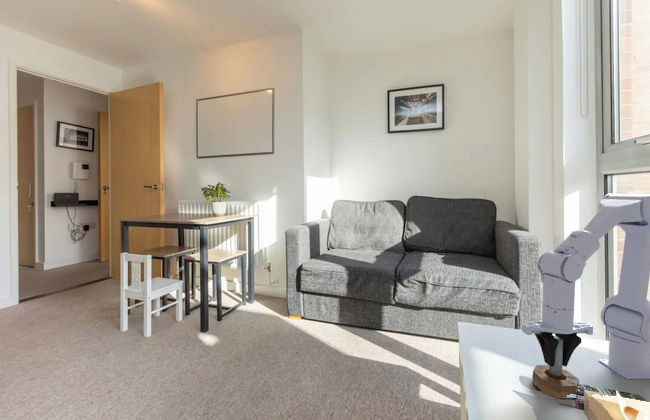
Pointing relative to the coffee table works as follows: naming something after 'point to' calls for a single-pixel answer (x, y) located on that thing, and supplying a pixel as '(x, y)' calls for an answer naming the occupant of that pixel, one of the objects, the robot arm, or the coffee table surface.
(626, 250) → the robot arm
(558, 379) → the wooden octagonal ring
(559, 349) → the dowel
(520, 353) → the coffee table surface
